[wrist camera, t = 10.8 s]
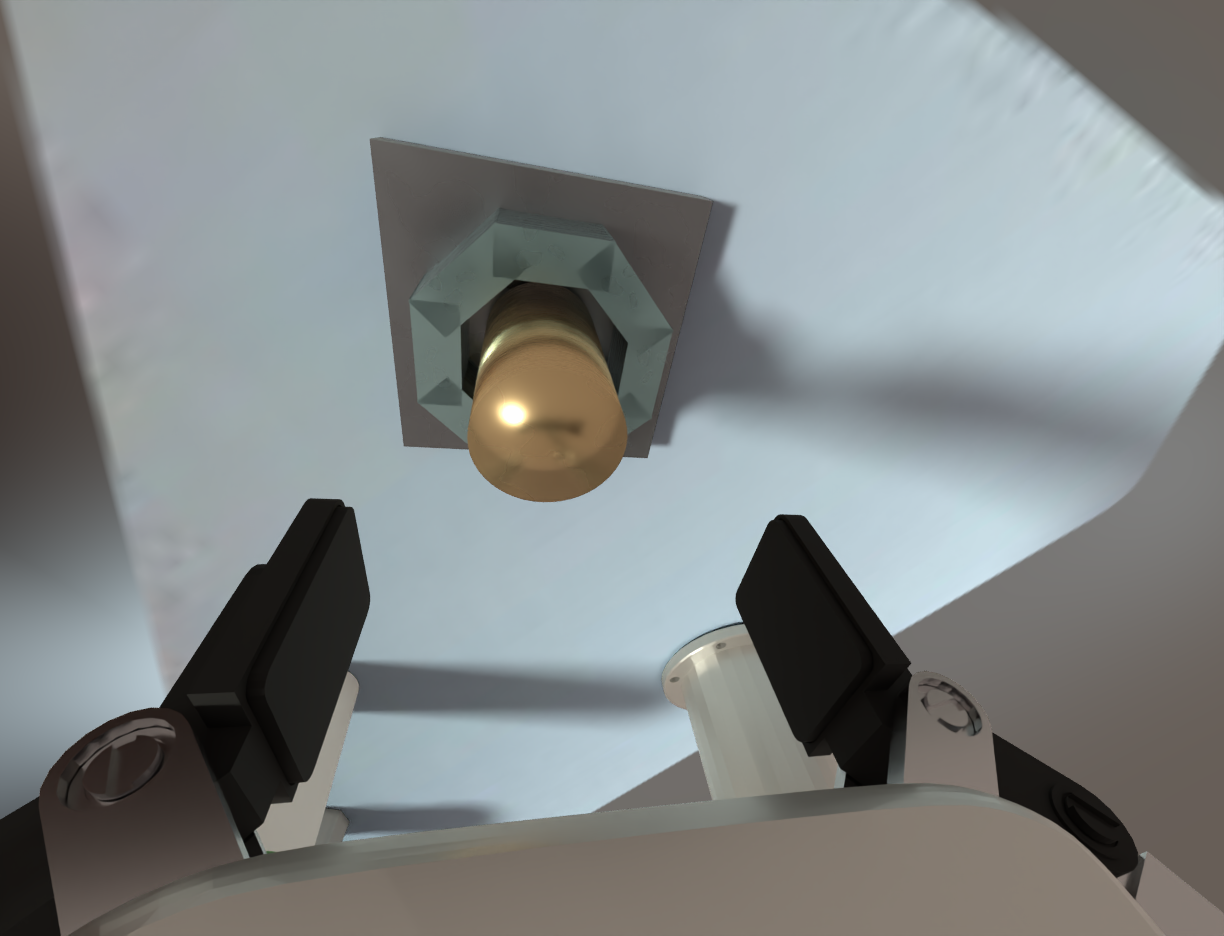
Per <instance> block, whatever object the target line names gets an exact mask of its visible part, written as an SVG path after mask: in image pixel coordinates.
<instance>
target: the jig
mask: <svg viewBox="0 0 1224 936" xmlns="http://www.w3.org/2000/svg"><path fill="white" fill-rule="evenodd" d="M370 146H371V155H372V164H373V173H374V182H375V191H376V200H377V209H378V218H379V227H380V236H381V245H382V254H383V263H384V272H385V281H386V290H387V299H388V308H389V317H390V326H391V335H392V344H393V353H394V362H395V371H396V380H397V389H398V398H399V407H400V416H401V425H402V434H403V443H404V446H409V447H430V448H450V449H469V448H468V441H467V434H468V425H469V419H470V414H471V408H472V402H473V397H474V391H475V386H476V380H477V374H478V369H479V363H480V358H481V352H482V346H483V341H484V335H485V330H486V324H487V320H488V316H489V314H490V311H491V309H492V308H493V306H494V304H495V303H496V302H497V300H498V299H499V298H500V297H501V296H502V295H503V294H505V293H506V292H507V291H509V290H510V289H512V288H514V287H516V286H519V285H522V284H525V283H530V282H538V283H545V284H553V285H559V286H561V287H563V288H565V289H567V290H569V291H570V292H572V293H573V294H575V295H576V296H577V297H578V298H579V299H580V300H581V301H582V302H583V303H584V305H585V306H586V308H587V309H588V311H589V313H590V315H591V317H592V320H593V323H594V326H595V329H596V332H597V335H598V338H599V341H600V344H601V347H602V350H603V353H604V357H605V360H606V363H607V366H608V369H609V372H610V375H611V378H612V381H613V384H614V387H615V390H616V393H617V396H618V399H619V402H620V405H621V408H622V411H623V414H624V417H625V420H626V425H627V444H626V449H625V452H624V455H623V457H636V458H648V454H649V450H650V446H651V442H652V438H653V434H654V431H655V427H656V423H657V419H658V415H659V411H660V407H661V403H662V399H663V395H664V391H665V388H666V384H667V380H668V376H669V372H670V368H671V364H672V360H673V356H674V352H675V348H676V345H677V341H678V337H679V333H680V329H681V325H682V321H683V317H684V313H685V309H686V305H687V302H688V298H689V294H690V290H691V286H692V282H693V278H694V274H695V270H696V266H697V262H698V259H699V255H700V251H701V247H702V243H703V239H704V235H705V231H706V227H707V223H708V219H709V216H710V212H711V208H712V204H713V201H711V200H709V199H707V198H704V197H702V196H698V195H693V194H687V193H682V192H676V191H671V190H666V189H660V188H655V187H649V186H644V185H638V184H633V183H627V182H622V181H617V180H611V179H606V178H600V177H595V176H589V175H584V174H579V173H573V172H568V171H562V170H557V169H551V168H546V167H540V166H535V165H530V164H524V163H519V162H513V161H508V160H502V159H497V158H491V157H486V156H481V155H475V154H470V153H464V152H459V151H453V150H448V149H442V148H437V147H432V146H426V145H421V144H415V143H410V142H404V141H399V140H394V139H388V138H383V137H378V138H371V139H370Z"/></svg>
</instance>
